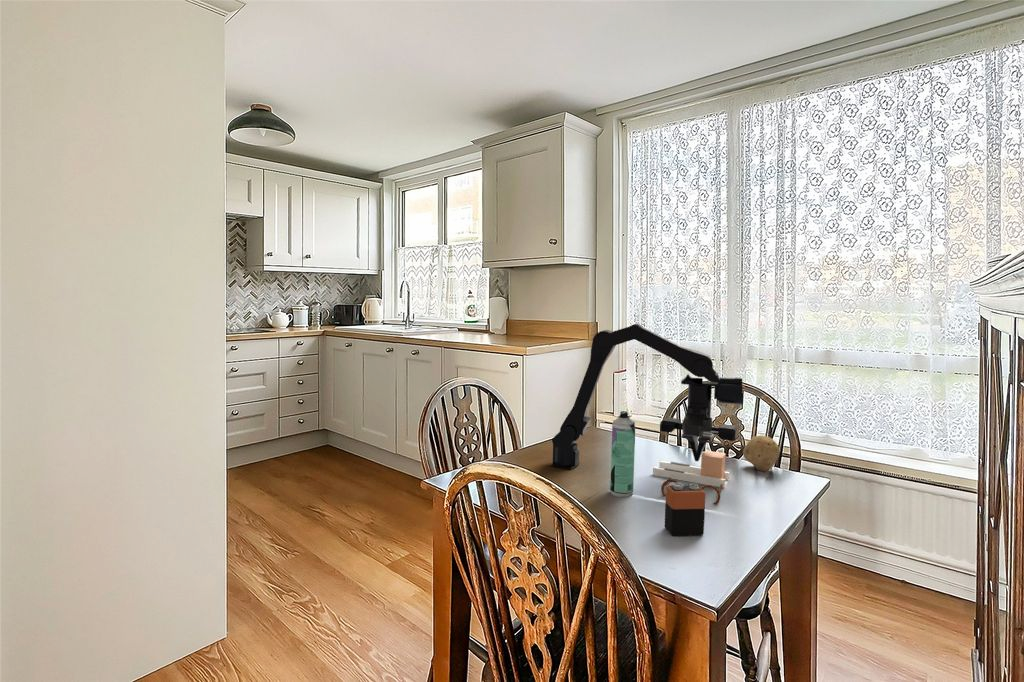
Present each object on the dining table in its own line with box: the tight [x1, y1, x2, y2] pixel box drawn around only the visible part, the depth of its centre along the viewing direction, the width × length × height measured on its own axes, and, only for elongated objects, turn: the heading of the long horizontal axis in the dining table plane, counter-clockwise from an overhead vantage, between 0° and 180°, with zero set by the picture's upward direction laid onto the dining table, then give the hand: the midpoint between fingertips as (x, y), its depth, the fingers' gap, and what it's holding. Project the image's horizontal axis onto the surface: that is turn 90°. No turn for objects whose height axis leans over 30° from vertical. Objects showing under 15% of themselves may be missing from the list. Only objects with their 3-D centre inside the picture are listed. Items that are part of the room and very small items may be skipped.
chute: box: [652, 460, 731, 489], centre depth 144 cm, size 18×7×3 cm, turn 60°
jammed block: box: [700, 450, 727, 479], centre depth 141 cm, size 5×5×7 cm
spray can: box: [609, 410, 636, 498], centre depth 132 cm, size 6×6×20 cm
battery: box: [664, 482, 706, 537], centre depth 111 cm, size 4×7×10 cm, turn 95°
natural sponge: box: [742, 434, 780, 472], centre depth 151 cm, size 9×9×10 cm
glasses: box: [660, 477, 723, 506], centre depth 133 cm, size 13×13×5 cm
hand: (697, 460), depth 143 cm, fingers closed
